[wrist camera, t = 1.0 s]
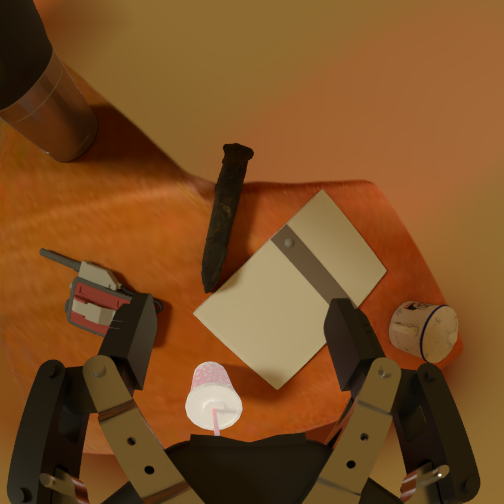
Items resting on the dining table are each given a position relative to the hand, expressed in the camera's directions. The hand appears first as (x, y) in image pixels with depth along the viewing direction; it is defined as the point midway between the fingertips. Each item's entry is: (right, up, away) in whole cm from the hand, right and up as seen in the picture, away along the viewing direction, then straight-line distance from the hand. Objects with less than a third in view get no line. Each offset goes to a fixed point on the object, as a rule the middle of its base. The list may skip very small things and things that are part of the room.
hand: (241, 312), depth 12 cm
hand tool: (-3, +7, +24) cm, 25 cm away
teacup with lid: (+25, -10, +28) cm, 39 cm away
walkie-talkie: (-21, -3, +20) cm, 29 cm away
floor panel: (+7, -3, +25) cm, 26 cm away
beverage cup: (-5, -14, +22) cm, 27 cm away
